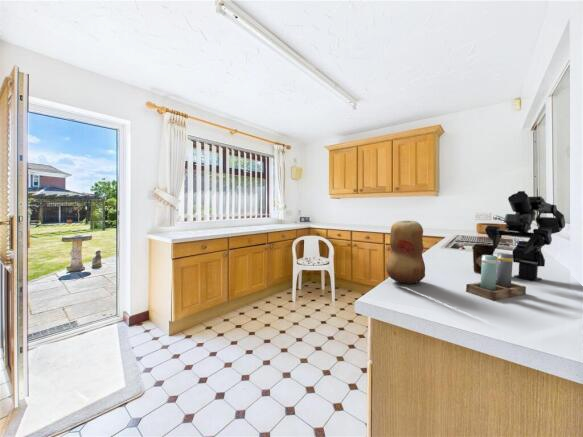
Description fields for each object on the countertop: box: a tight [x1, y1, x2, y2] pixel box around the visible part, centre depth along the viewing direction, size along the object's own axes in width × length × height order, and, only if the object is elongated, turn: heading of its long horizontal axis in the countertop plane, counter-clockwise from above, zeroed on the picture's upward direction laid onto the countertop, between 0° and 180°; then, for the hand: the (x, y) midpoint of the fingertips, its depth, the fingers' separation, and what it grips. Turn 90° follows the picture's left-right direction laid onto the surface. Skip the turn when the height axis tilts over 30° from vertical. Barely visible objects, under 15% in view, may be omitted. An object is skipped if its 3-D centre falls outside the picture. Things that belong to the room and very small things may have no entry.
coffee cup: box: [471, 243, 496, 275], centre depth 111 cm, size 9×8×13 cm
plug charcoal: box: [496, 252, 514, 288], centre depth 85 cm, size 4×4×13 cm
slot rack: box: [465, 281, 527, 302], centre depth 84 cm, size 17×9×4 cm, turn 110°
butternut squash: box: [385, 219, 426, 285], centre depth 96 cm, size 14×13×25 cm
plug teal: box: [480, 255, 498, 291], centre depth 83 cm, size 4×4×13 cm
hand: (508, 251), depth 93 cm, fingers open, 9 cm apart
